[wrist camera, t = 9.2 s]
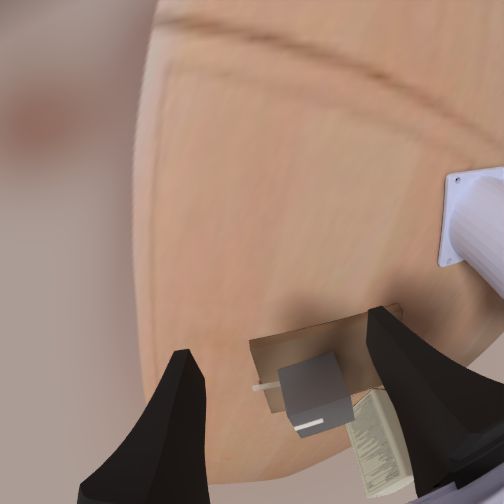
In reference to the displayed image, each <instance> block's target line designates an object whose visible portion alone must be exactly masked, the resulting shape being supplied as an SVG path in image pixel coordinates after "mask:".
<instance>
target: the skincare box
mask: <svg viewBox="0 0 504 504" xmlns="http://www.w3.org/2000/svg"><path fill="white" fill-rule="evenodd" d="M353 412H354V417H355V420H354V421H352V422H349V423H346V424H345V425H346V428H347V431H348V435H349V438H350V441H351V445H352V448H353V451H354V454H355V458H356V461H357V465H358V468H359V471H360V475H361V478H362V482H363V485H364V489H365V493H366V496H367V499H368V498H373V497H378V496H382V495H387V494H392V493H394V492H396V491H397V490H399V489H401V488H403V487H404V486H406V485H408V484H410V483H411V482H413V481H414V477H413V472H412V467H411V463H410V458H409V454H408V450H407V446H406V443H405V439H404V436H403V432H402V429H401V426H400V423H399V420H398V417H397V414H396V411H395V409H394V406H393V404H392V402H391V400H390V398H389V396H388V394H387V392H386V390H382V389H372V390H371V391H370V392H369V393H368V394H367V395H365V396H364V397H363V398H362V399H361V400H360V401H359V402H358V403H357V404H356V405H355V406H354V407H353Z"/></svg>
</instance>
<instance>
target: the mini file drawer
mask: <svg viewBox="0 0 504 504" xmlns="http://www.w3.org/2000/svg"><path fill="white" fill-rule="evenodd" d="M277 372H278V376H279V381H280V385H281V390H282V394H283V399H284V404H285V408H286V413H287V417H288V418H289V420H290V422H291V423H292V425H293V426H294V429H295V430H296V431H297V433H298V434H299V436H300V437H301V438H304V437H308V436H311V435H314V434H317V433H320V432H323V431H326V430H329V429H332V428H335V427H338V426H341V425H344V424H346V423H349V422H352V421H354V420H355V417H354V412H353V407H352V402H351V397H350V393H349V391H348V388H347V386H346V383H345V381H344V378H343V375H342V373H341V370H340V368H339V365H338V363H337V360H336V358H335V355H334V353H333V351H331V352H329V353H326V354H323V355H321V356H318V357H315V358H312V359H309V360H307V361H304V362H301V363H298V364H295V365H292V366H289V367H286V368H283V369H280V370H277Z"/></svg>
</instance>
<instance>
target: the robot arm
mask: <svg viewBox="0 0 504 504" xmlns="http://www.w3.org/2000/svg"><path fill="white" fill-rule="evenodd" d="M456 178H457V181H456ZM455 181H456V182H455ZM464 260H465V261H466V262H468V263H469V264H470V265H471V266H472V267H473V268H474V269H475V270H476V271H477V272H478V273H479V274H480V275H481V276H482V277H483V278H484V279H485V280H486V281H487V283H488V284H489V285H490V286H491V287H492V288H493V289H494V290H495V291H496V292H497V293H498V294H499V295H500V296H501V297H502V298H503V300H504V166H502V167H494V168H486V169H479V170H472V171H465V172H458V173H451V174H449V175H448V176H447V177H446V181H445V199H444V213H443V224H442V233H441V242H440V250H439V257H438V265H439V266H440V267H446V266H449V265H452V264H455V263H458V262H461V261H464ZM366 345H367V348H368V351H369V354H370V357H371V360H372V363H373V365H374V367H375V369H376V371H377V373H378V375H379V377H380V379H381V382H382V384H383V386H384V388H385V390H386V392H387V394H388V396H389V398H390V400H391V402H392V404H393V406H394V409H395V411H396V414H397V417H398V420H399V423H400V426H401V429H402V432H403V436H404V439H405V443H406V446H407V450H408V454H409V458H410V463H411V467H412V472H413V477H414V483H415V489H416V494H417V496H418V499H416V500H413V501H411V502H409V503H406V504H504V384H502V383H500V382H497V381H494V380H492V379H489V378H486V377H484V376H482V375H479V374H478V373H476V372H473V371H471V370H469V369H467V368H465V367H463V366H461V365H460V364H458V363H456V362H454V361H453V360H451V359H450V358H448V357H446V356H445V355H443V354H442V353H440V352H439V351H437V350H436V349H435V348H433V347H432V346H430V345H429V344H428V343H426V342H425V341H424V340H422V339H421V338H420V337H419V336H417V335H416V334H415V333H414V332H412V331H411V330H410V329H409V328H408V327H406V326H405V325H404V324H403V323H402V322H401V321H399V320H398V319H397V318H396V317H395V316H394V315H392V314H391V313H390V312H389V311H388V310H387V309H386V308H384V307H383V306H379V307H376V308H372V309H369V310H368V320H367V334H366ZM205 422H206V388H205V378H204V376H203V374H202V373H201V371H200V369H199V367H198V365H197V363H196V361H195V360H194V358H193V356H192V354H191V352H190V350H189V349H184V350H178V351H174V353H173V355H172V357H171V359H170V361H169V363H168V365H167V368H166V370H165V372H164V374H163V376H162V378H161V380H160V382H159V384H158V386H157V388H156V390H155V392H154V394H153V396H152V398H151V400H150V401H149V403H148V405H147V407H146V408H145V410H144V412H143V414H142V415H141V417H140V418H139V420H138V421H137V423H136V425H135V426H134V428H133V429H132V430H131V432H130V433H129V434H128V436H127V437H126V439H125V440H124V441H123V442H122V444H121V445H120V446H119V447H118V448H117V450H116V451H115V452H114V453H113V454H112V455H111V456H110V457H109V458H108V459H107V460H106V461H105V462H104V463H103V465H101V467H99V468H98V469H97V470H96V471H95V472H94V473H93V474H91V475H90V476H89V477H88V478H87V479H86V480H84V481H83V482H82V483H81V484H80V487H79V493H78V500H77V504H210V498H209V492H208V484H207V476H206V466H205V448H204V446H205Z"/></svg>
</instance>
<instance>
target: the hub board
mask: <svg viewBox="0 0 504 504" xmlns="http://www.w3.org/2000/svg"><path fill="white" fill-rule="evenodd" d="M384 308H386V309H387V310H388V311H389V312H390V313H391V314H392V315H394V316H395V317H396V318H397V319H398V320H399V321H401V320H402V314H403V310H402V308H401V307H400V305H399V304H398V303H397V304H394V305H390V306H387V307H384ZM367 320H368V312H366V313H363V314H359V315H355V316H352V317H348V318H344V319H340V320H337V321H333V322H329V323H325V324H321V325H317V326H313V327H309V328H304V329H300V330H296V331H291V332H287V333H282V334H278V335H273V336H268V337H264V338H259V339H254V340H249V344H250V351H251V354H252V357H253V360H254V363H255V366H256V369H257V372H258V375H259V378H260V381H261V385H255V386H252V388H253V391H259V390H264V393H265V396H266V399H267V402H268V404H269V407H270V410H271V413H277V412H282V411H286V408H285V404H284V399H283V394H282V390H281V385H280V381H279V376H278V372H277V370H280V369H283V368H286V367H289V366H292V365H295V364H298V363H301V362H304V361H307V360H309V359H312V358H315V357H318V356H321V355H323V354H326V353H329V352H331V351H333V353H334V355H335V358H336V360H337V363H338V365H339V368H340V370H341V373H342V375H343V378H344V381H345V383H346V386H347V388H348V391H349V393H350V395H352V394H355V393H358V392H362V391H365V390H368V389H371V388H374V387H378V386H381V385H383V384H382V382H381V379H380V377H379V375H378V373H377V371H376V369H375V367H374V365H373V363H372V360H371V357H370V354H369V351H368V348H367V345H366V334H367Z"/></svg>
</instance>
